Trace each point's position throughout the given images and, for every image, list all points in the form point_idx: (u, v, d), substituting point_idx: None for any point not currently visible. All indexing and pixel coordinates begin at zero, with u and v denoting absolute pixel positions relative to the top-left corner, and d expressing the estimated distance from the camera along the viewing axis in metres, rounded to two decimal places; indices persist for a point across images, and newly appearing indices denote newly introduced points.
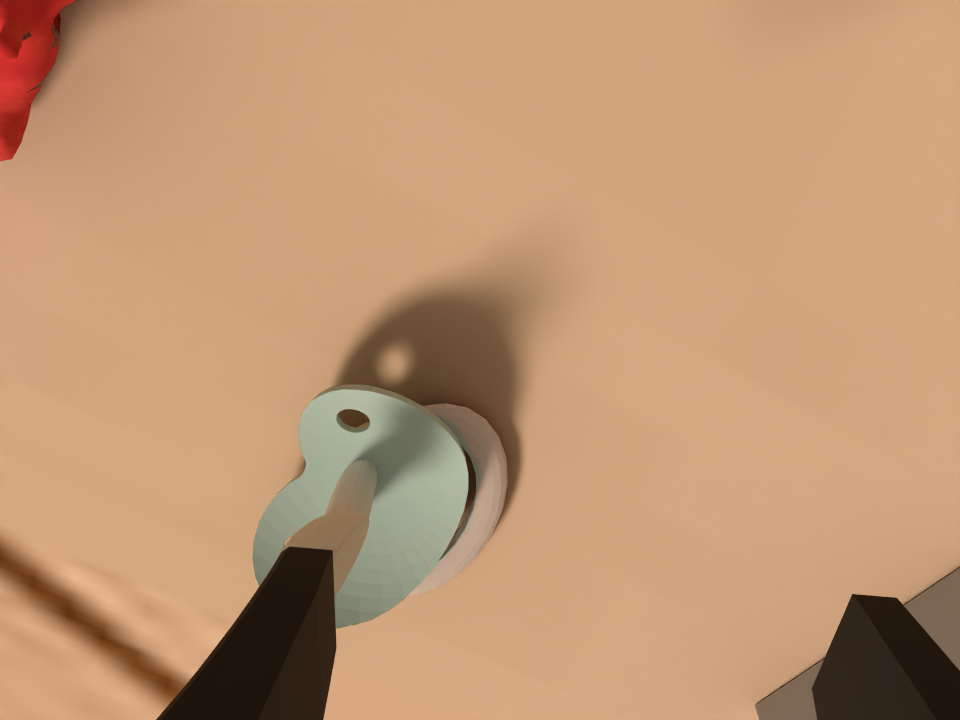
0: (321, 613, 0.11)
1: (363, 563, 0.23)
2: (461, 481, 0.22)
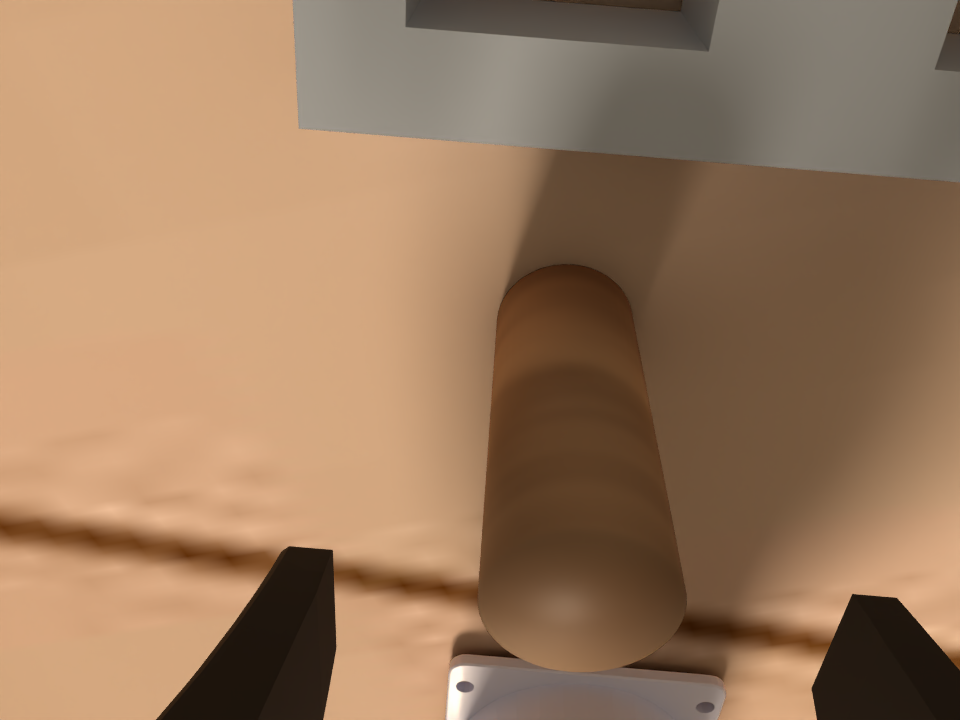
0: (321, 613, 0.11)
1: None
2: None
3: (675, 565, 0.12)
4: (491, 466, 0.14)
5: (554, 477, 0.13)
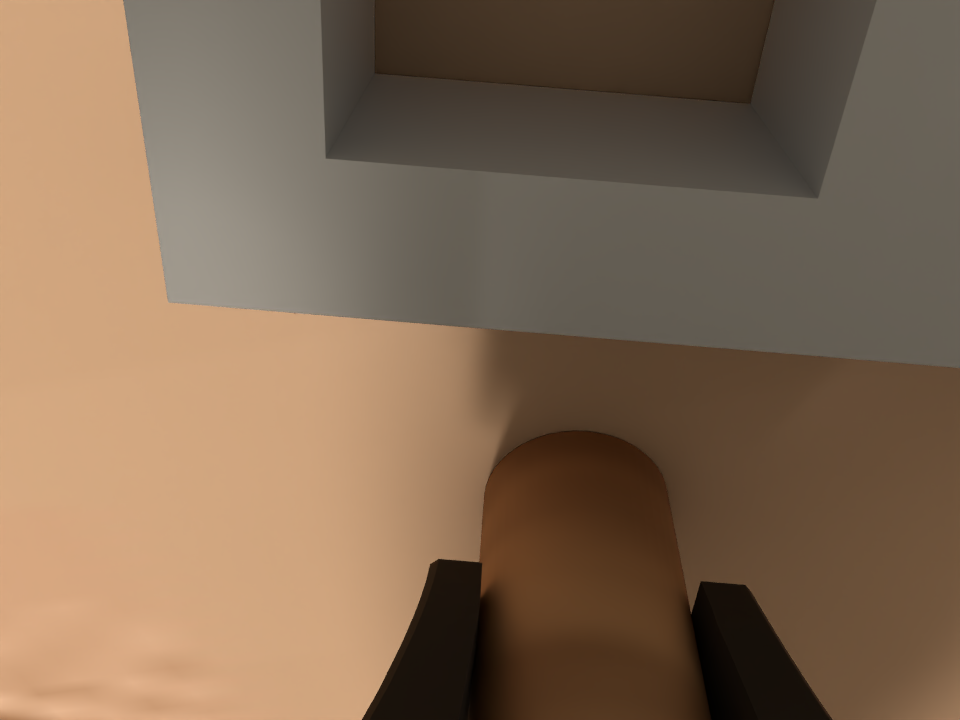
0: None
1: None
2: None
3: None
4: None
5: None
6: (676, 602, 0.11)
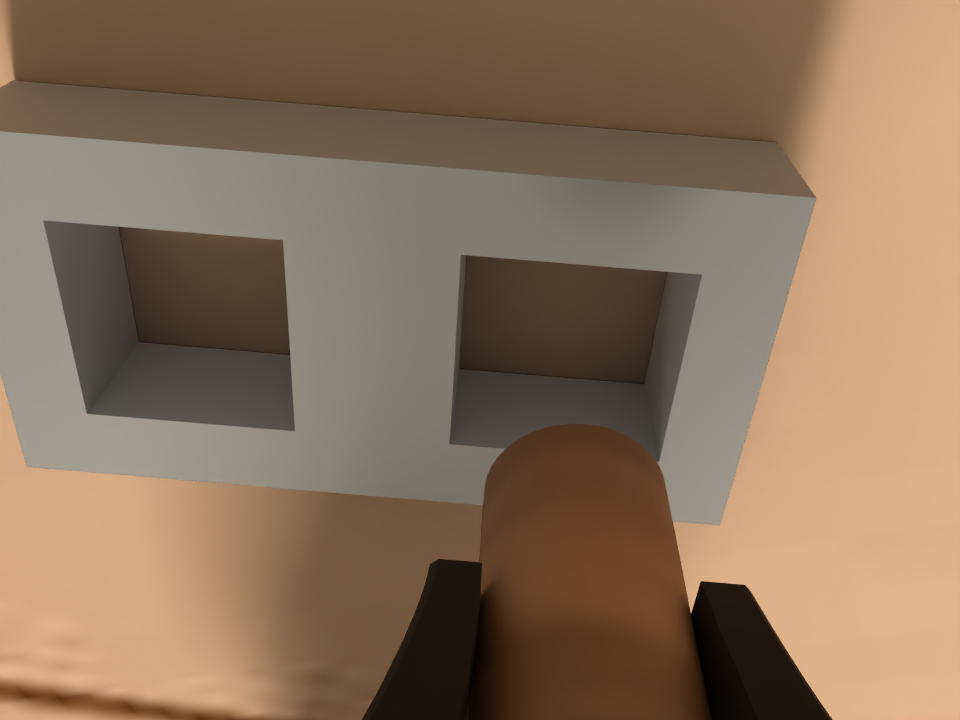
0: None
1: None
2: None
3: None
4: None
5: None
6: (678, 595, 0.11)
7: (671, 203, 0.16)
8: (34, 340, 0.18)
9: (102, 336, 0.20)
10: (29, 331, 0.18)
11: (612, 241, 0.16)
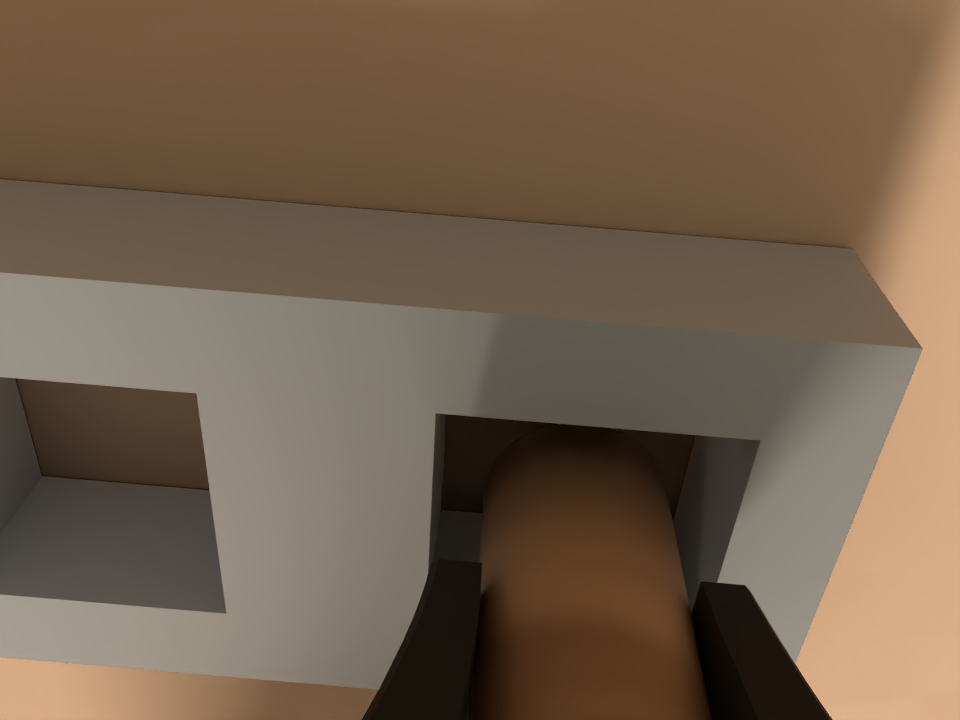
0: None
1: None
2: None
3: None
4: None
5: None
6: (678, 594, 0.11)
7: (723, 354, 0.12)
8: None
9: None
10: None
11: (640, 399, 0.12)
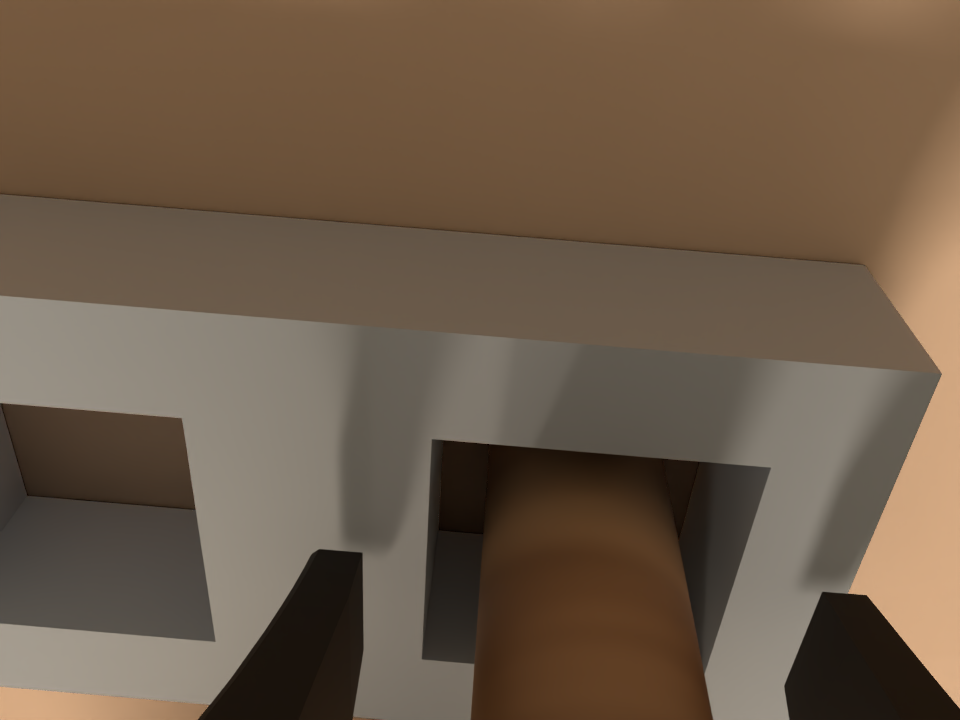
0: (352, 616, 0.11)
1: None
2: None
3: None
4: (481, 692, 0.11)
5: None
6: (667, 527, 0.13)
7: (732, 378, 0.11)
8: None
9: None
10: None
11: (645, 425, 0.11)
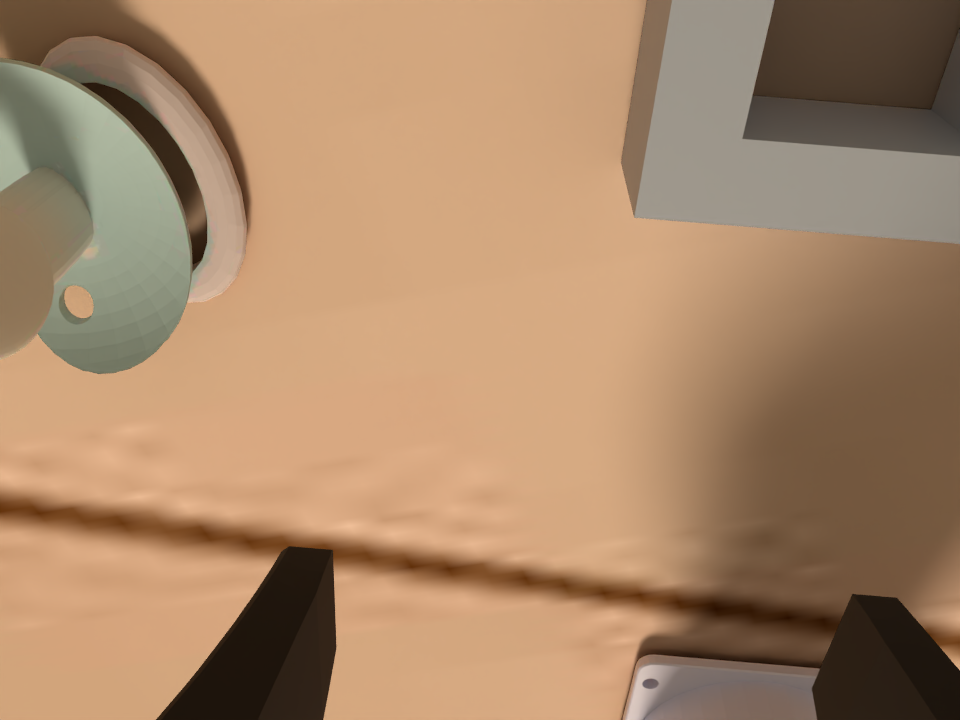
0: (321, 613, 0.11)
1: (136, 276, 0.20)
2: (107, 115, 0.18)
3: None
4: None
5: None
6: None
7: None
8: (722, 31, 0.15)
9: None
10: (720, 18, 0.15)
11: None
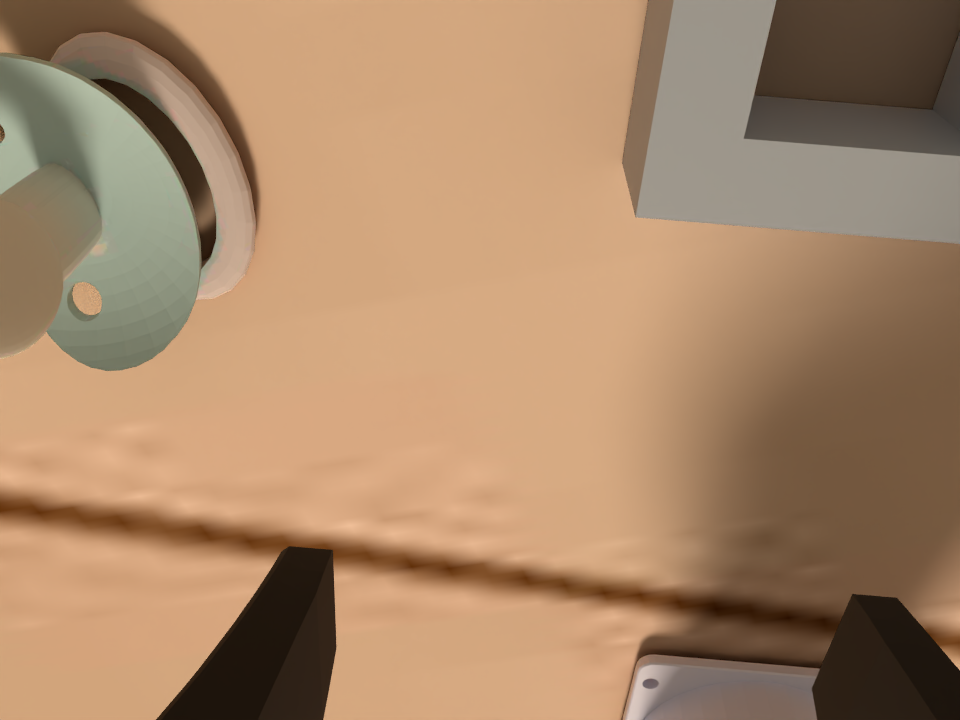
0: (321, 613, 0.11)
1: (145, 273, 0.20)
2: (117, 111, 0.18)
3: None
4: None
5: None
6: None
7: None
8: (723, 31, 0.15)
9: None
10: (722, 17, 0.15)
11: None
